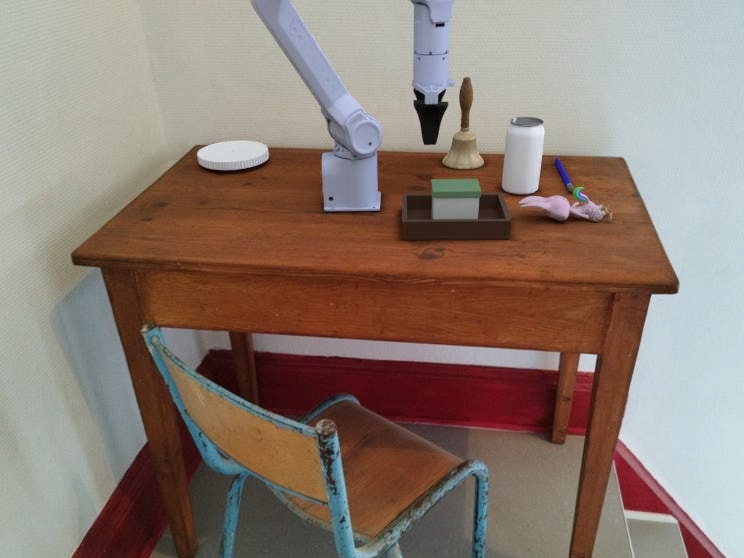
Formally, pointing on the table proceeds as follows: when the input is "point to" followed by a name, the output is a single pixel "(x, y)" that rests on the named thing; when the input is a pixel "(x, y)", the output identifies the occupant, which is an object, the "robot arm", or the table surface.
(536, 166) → the can
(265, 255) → the table surface
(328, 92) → the robot arm
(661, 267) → the table surface
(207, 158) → the plastic lid
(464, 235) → the tray
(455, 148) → the hand bell
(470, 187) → the container
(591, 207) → the rabbit figure
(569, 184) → the pencil
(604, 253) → the table surface
